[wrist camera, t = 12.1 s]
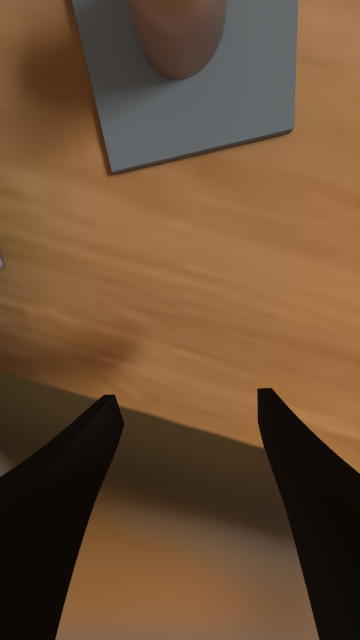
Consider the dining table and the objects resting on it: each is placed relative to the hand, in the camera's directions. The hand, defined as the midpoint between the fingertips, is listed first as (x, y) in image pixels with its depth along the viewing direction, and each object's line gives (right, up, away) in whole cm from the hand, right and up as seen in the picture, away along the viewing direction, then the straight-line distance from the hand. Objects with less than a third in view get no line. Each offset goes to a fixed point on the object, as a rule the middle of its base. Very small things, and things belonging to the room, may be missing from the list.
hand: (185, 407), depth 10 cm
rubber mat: (0, +21, +2) cm, 21 cm away
